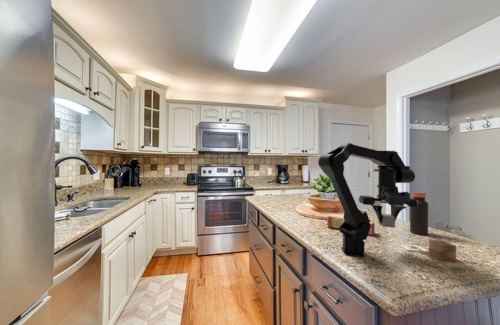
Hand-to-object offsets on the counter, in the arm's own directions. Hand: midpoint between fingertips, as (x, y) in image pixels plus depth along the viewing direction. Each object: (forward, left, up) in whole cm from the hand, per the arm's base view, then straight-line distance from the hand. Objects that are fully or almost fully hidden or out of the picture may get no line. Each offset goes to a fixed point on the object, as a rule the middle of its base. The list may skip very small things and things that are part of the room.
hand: (386, 222), depth 79 cm
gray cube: (0, 0, -1) cm, 1 cm away
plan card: (+11, +3, -10) cm, 15 cm away
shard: (+14, -6, -11) cm, 19 cm away
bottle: (+25, +25, -11) cm, 37 cm away
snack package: (-7, +22, -11) cm, 26 cm away
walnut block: (+15, -6, -9) cm, 19 cm away
